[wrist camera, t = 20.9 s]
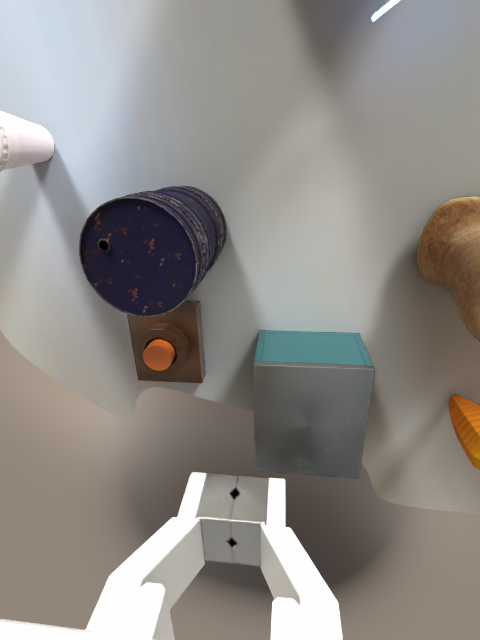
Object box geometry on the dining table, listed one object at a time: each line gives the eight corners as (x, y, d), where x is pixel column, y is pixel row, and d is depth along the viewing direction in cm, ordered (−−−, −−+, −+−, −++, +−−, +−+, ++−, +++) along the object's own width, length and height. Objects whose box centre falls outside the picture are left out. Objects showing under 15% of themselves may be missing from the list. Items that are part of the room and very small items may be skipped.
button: (177, 364, 45) (172, 371, 43) (149, 363, 45) (144, 370, 44) (174, 338, 43) (169, 345, 42) (146, 338, 44) (140, 344, 42)
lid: (357, 473, 43) (359, 478, 42) (255, 466, 45) (254, 471, 44) (373, 365, 37) (375, 369, 36) (254, 360, 38) (253, 364, 38)
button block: (205, 374, 49) (199, 391, 46) (143, 371, 50) (132, 387, 47) (199, 300, 45) (192, 312, 41) (132, 299, 46) (119, 311, 42)
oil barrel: (241, 208, 40) (218, 231, 26) (209, 283, 44) (174, 336, 30) (160, 169, 39) (93, 171, 25) (135, 248, 43) (65, 287, 30)
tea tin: (348, 425, 50) (358, 468, 43) (259, 420, 51) (255, 461, 44) (359, 332, 44) (373, 365, 37) (258, 330, 46) (253, 360, 38)
